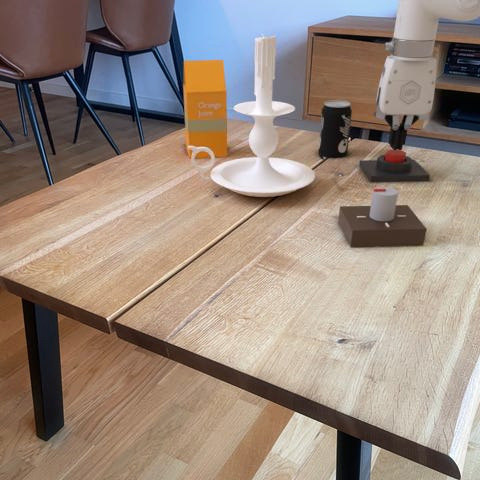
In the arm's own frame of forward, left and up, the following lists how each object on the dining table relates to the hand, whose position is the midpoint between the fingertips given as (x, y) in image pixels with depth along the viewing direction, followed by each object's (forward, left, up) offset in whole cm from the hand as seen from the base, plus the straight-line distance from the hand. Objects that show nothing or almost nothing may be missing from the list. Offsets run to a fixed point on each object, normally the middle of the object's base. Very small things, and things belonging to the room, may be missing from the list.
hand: (395, 147), depth 113 cm
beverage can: (+10, -14, -6) cm, 18 cm away
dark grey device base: (0, 0, -6) cm, 6 cm away
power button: (0, 0, -3) cm, 3 cm away
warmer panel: (+10, +27, -6) cm, 29 cm away
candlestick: (+30, +5, -7) cm, 31 cm away
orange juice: (+39, -19, -6) cm, 44 cm away
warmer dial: (+10, +27, -3) cm, 29 cm away
